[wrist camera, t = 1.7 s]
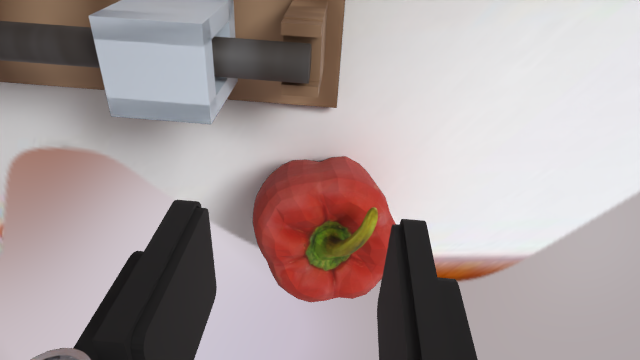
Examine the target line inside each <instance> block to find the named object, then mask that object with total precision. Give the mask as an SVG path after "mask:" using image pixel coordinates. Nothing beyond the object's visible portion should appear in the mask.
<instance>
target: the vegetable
mask: <svg viewBox="0 0 640 360" xmlns="http://www.w3.org/2000/svg"><path fill="white" fill-rule="evenodd" d="M393 224H395V222H394V220H393V218H392V216H391V214H390V212H389V208H388V204H387V201H386V198H385V196H384V195H383V193H382V192H381V190H380V189H379V188H378V186H377V185H376V183H375V182H374V181H373V179H372V178H371V176H370V175H369V174H368V172H367V171H366V170H365V169H364V168H363V167H362V166H361V165H360V164H359V163H357V162H355V161H353V160H351V159H349V158H348V157H346V156H343V157H332V158H329V159H326V160H324V161H321V162H317V161H310V160H292V161H290V162H288V163H286V164H284V165H282V166H280V167H279V168H278V169H277V170H275V171H274V172H273V173H272V174H271V175H270V176H269V177H268V178H267V179H266V181H265V182H264V183H263V185H262V187H261V188H260V190H259V192H258V194H257V196H256V199H255V203H254V211H253V226H254V231H255V235H256V239H257V243H258V246H259V248H260V250H261V252H262V254H263V256H264V257H265V258H266V260H267V262H268V265H269V268H270V270H271V272H272V274H273V276H274V278H275V280H276V281H277V283H278V285H279V286H280V287H282V288H283V289H284V290H285V291H287V292H288V293H290V294H291V295H293V296H294V297H296V298H298V299H301V300H304V301H308V302H316V301H324V300H329V299H333V298H338V297H342V298H352V299H353V298H356V297H359V296H362V295H365V294H367V293H368V292H369V291H370V290H371V289H372V288H374V287H375V286H376V284H377V283H378V282H379V281H380V280H381V278H382V276H383V271H384V265H385V260H386V254H387V248H388V243H389V237H390V232H391V227H392V225H393Z"/></svg>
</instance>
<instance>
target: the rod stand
mask: <svg viewBox="0 0 640 360" xmlns="http://www.w3.org/2000/svg"><path fill="white" fill-rule="evenodd" d="M118 1H120V0H0V82H10V83H23V84H36V85H48V86H61V87H74V88H87V89H100V90H105V87H104V83H103V78H102V74H101V69H100V65H99V60H98V56H97V52H96V47H95V43H94V38H93V34H92V29H91V25H90V21H89V15H91V14H93V13H95V12H97V11H100V10H102V9H104V8H106V7H108V6H110V5H112V4H114V3H116V2H118ZM233 1H234V20H235V38H229V37H215V36H214V37H213V38H212V51H213V64H214V76H215V77H226V78H238V82H237V83H236V85H235V87H234V88H233V90H232V91H231V93H230V95H229V96H228V98H227V99H229V100H242V101H255V102H268V103H281V104H294V105H306V106H319V107H332V108H337V96H338V83H339V71H340V58H341V45H342V32H343V20H344V7H345V0H233Z"/></svg>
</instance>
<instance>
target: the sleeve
mask: <svg viewBox="0 0 640 360" xmlns="http://www.w3.org/2000/svg"><path fill="white" fill-rule="evenodd" d="M89 21H90V25H91V29H92V34H93V38H94V43H95V47H96V52H97V56H98V60H99V65H100V69H101V74H102V78H103V83H104V87H105V91H106V96H107V100H108V105H109V109H110V114H111V116H113V117H125V118H138V119H150V120H163V121H176V122H188V123H201V124H212V122H213V121H214V119H215V117H216V116H217V114H218V112H219V111H220V109H221V108H222V106H223V104H224V103H225V101H226V100H227V98H228V96H229V95H230V93H231V91H232V90H233V88H234V87H235V85H236V83H237V82H238V78H226V77H215V76H214V64H213V51H212V38H213V37H214V36H215V37H229V38H235V20H234V1H233V0H120V1H118V2H116V3H114V4H112V5H110V6H108V7H106V8H104V9H102V10H100V11H97V12H95V13H93V14H91V15H89Z"/></svg>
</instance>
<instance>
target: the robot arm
mask: <svg viewBox="0 0 640 360" xmlns="http://www.w3.org/2000/svg"><path fill="white" fill-rule="evenodd" d="M215 296H216V278H215V269H214V260H213V250H212V240H211V231H210V222H209V213H208V209H206V208H201V204H200V202H196V201H184V200H175V201H174V202H173V203H172V205H171V207H170V208H169V210H168V212H167V213H166V215H165V217H164V218H163V220H162V222H161V224H160V225H159V227H158V229H157V230H156V232H155V234H154V235H153V237H152V239H151V241H150V242H149V244H148V246H147V248H146V249H145V251H144V252H142V251H136V252H134V253H133V254H132V255H131V256H130V258H129V259H128V260H127V262H126V264H125V265H124V267H123V268H122V270H121V272H120V273H119V275H118V277H117V278H116V280H115V281H114V283H113V285H112V286H111V288H110V290H109V291H108V293H107V294H106V296H105V298H104V299H103V301H102V302H101V304H100V306H99V307H98V309H97V311H96V312H95V314H94V316H93V317H92V319H91V320H90V322H89V324H88V325H87V327H86V328H85V330H84V332H83V333H82V335H81V337H80V338H79V340H78V342H77V343H76V345H75V346H74V348H73V349H72V348H60V349H56V350H50V351H47V352H45V353H43V354H40V355H38V356H36V357H34V358H33V359H31V360H194V358H195V355H196V352H197V349H198V346H199V344H200V340H201V338H202V335H203V332H204V329H205V326H206V323H207V320H208V318H209V315H210V312H211V309H212V306H213V303H214V300H215ZM377 307H378V308H377V319H378V343H379V360H477V356H476V352H475V348H474V344H473V340H472V336H471V332H470V328H469V324H468V320H467V316H466V312H465V308H464V304H463V301H462V296H461V293H460V289H459V285H458V283H457V281H456V280H455V279H448V278H437V274H436V269H435V264H434V259H433V254H432V249H431V244H430V239H429V234H428V229H427V225H426V222H425V221H420V220H408V219H401V222H400V225H396V224H393V225H392V227H391V232H390V237H389V243H388V248H387V254H386V260H385V265H384V271H383V276H382V282H381V287H380V293H379V298H378V306H377Z"/></svg>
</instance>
